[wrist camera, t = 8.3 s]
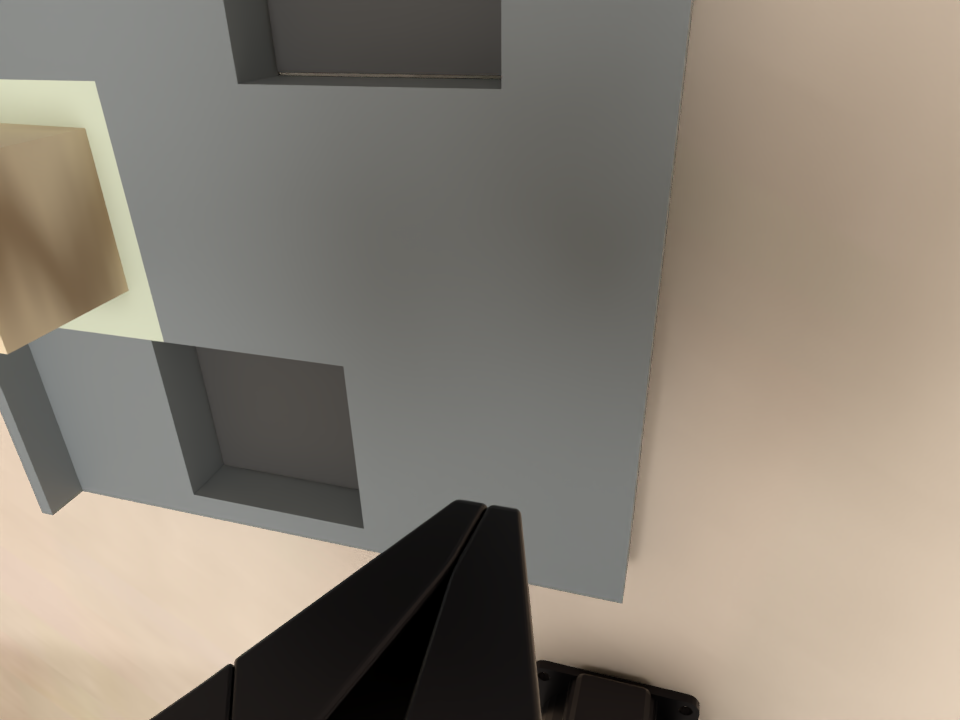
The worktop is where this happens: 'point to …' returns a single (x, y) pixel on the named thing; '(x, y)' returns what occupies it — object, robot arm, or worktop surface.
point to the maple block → (51, 233)
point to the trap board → (359, 263)
